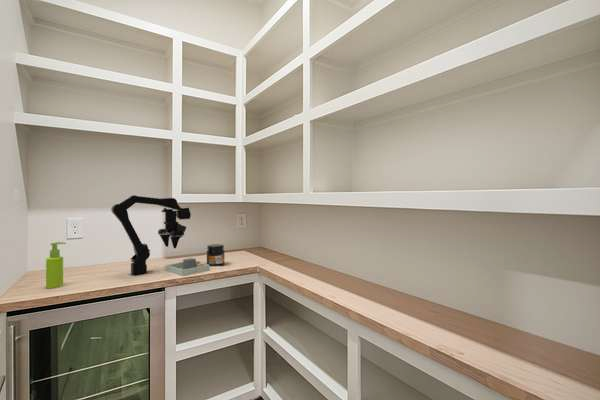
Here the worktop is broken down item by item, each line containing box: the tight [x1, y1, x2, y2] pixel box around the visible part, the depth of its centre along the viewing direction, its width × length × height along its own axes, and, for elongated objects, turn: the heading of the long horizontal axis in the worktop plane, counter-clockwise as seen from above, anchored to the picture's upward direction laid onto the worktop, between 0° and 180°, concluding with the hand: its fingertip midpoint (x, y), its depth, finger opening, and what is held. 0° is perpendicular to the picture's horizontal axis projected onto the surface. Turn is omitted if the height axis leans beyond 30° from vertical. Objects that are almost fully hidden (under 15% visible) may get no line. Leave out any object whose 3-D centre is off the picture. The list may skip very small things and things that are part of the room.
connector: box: [182, 257, 201, 270], centre depth 157 cm, size 8×4×6 cm, turn 141°
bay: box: [164, 261, 210, 277], centre depth 155 cm, size 16×19×4 cm
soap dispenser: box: [45, 241, 67, 289], centre depth 129 cm, size 6×7×20 cm
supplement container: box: [206, 243, 226, 267], centre depth 170 cm, size 10×10×12 cm
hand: (170, 247), depth 160 cm, fingers open, 9 cm apart
